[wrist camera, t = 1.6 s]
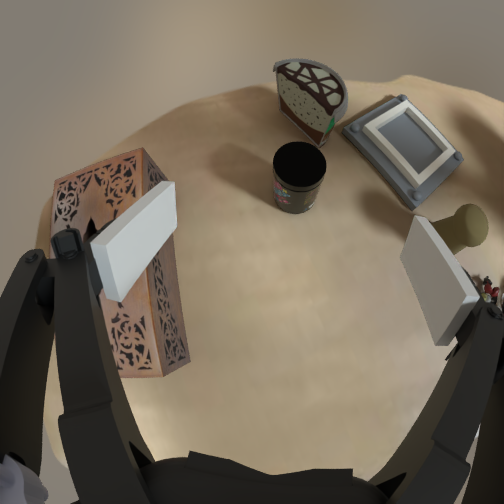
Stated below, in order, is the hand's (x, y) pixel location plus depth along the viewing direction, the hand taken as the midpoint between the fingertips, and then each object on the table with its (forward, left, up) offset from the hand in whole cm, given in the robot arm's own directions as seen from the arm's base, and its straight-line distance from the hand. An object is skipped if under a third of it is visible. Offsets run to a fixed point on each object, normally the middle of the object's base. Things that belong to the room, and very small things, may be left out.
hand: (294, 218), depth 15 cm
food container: (+16, -19, -22) cm, 33 cm away
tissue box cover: (+12, +17, -22) cm, 31 cm away
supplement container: (+7, -8, -22) cm, 25 cm away
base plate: (+3, -29, -22) cm, 36 cm away
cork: (-11, -21, -22) cm, 32 cm away
